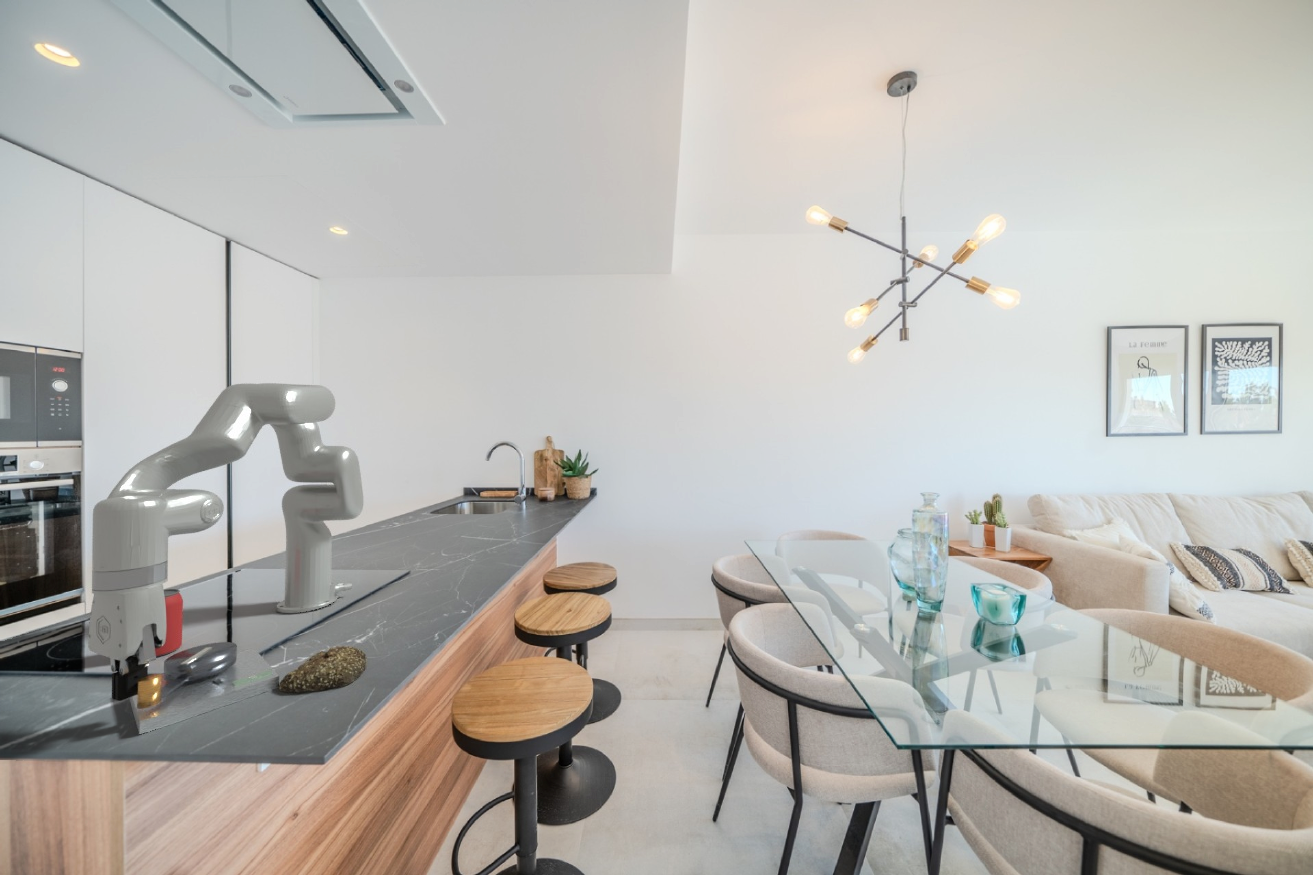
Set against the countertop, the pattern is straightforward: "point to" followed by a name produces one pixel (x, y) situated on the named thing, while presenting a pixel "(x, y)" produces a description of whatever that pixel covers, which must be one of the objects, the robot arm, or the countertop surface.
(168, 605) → the beer can
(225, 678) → the plate
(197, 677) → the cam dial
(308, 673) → the bread roll
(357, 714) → the countertop surface
